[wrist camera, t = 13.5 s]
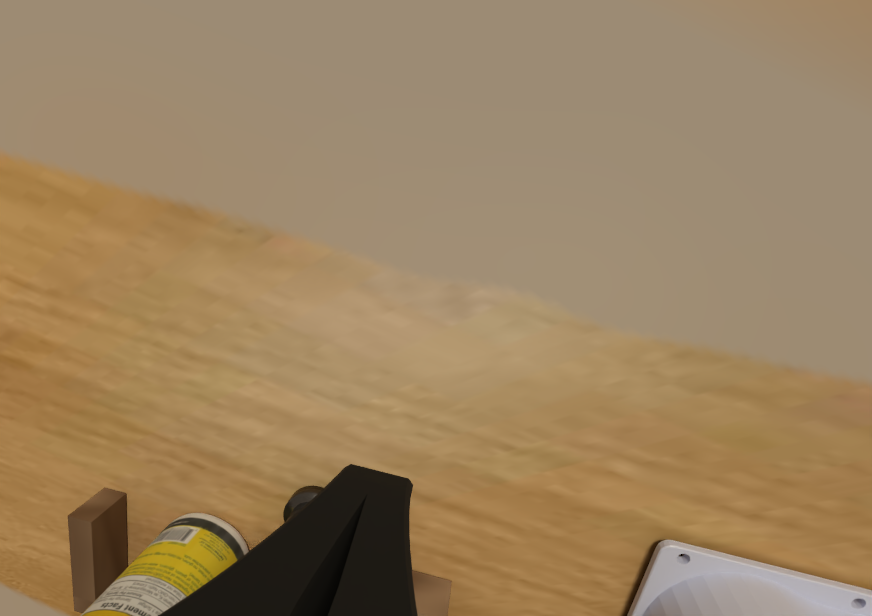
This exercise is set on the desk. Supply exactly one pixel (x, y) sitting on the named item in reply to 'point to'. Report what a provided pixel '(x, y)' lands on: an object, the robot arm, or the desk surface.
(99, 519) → the notched board
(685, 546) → the robot arm
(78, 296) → the desk surface
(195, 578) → the supplement bottle
